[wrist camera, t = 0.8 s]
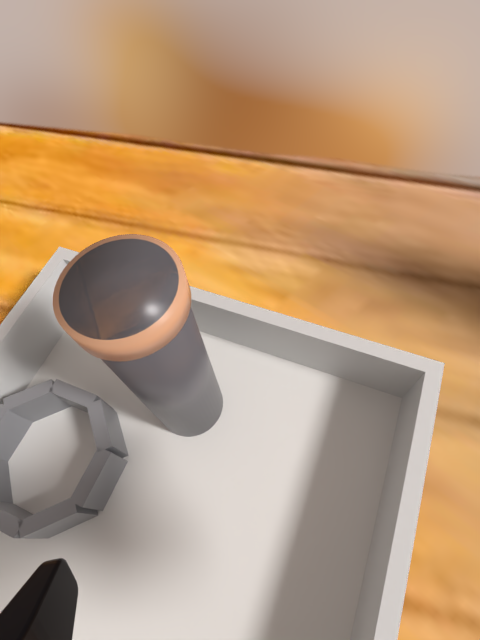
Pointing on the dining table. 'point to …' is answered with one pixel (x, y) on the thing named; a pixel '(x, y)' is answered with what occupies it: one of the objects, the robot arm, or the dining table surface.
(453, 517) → the dining table surface
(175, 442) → the walled box
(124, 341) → the capped peg
